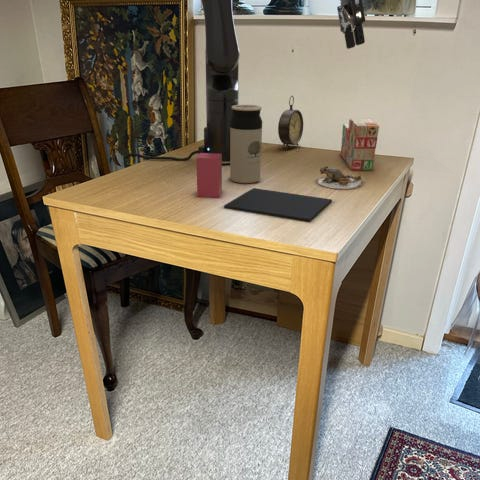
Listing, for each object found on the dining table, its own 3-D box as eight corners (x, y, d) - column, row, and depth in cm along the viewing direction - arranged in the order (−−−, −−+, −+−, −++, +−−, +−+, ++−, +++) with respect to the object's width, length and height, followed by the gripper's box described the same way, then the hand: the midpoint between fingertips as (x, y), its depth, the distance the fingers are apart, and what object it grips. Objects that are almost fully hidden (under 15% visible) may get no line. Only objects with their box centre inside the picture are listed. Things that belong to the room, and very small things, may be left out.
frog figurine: (312, 186, 127) (313, 171, 125) (322, 175, 137) (323, 161, 135) (357, 191, 124) (359, 176, 122) (364, 180, 133) (366, 165, 131)
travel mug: (225, 177, 133) (225, 105, 124) (252, 175, 136) (254, 104, 127) (237, 185, 127) (238, 109, 118) (265, 182, 130) (268, 108, 121)
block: (197, 196, 118) (196, 157, 113) (200, 190, 122) (199, 152, 118) (218, 197, 117) (218, 158, 113) (221, 191, 122) (221, 153, 117)
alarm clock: (288, 151, 164) (291, 97, 156) (274, 149, 166) (276, 96, 158) (302, 145, 172) (306, 94, 164) (289, 143, 175) (292, 93, 166)
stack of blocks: (339, 154, 161) (344, 113, 155) (359, 154, 161) (364, 113, 155) (351, 170, 143) (356, 124, 136) (372, 170, 143) (379, 125, 136)
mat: (224, 207, 110) (224, 205, 110) (253, 190, 123) (253, 187, 123) (309, 222, 103) (309, 219, 103) (331, 201, 116) (331, 199, 115)
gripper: (322, -15, 128) (335, 53, 135) (336, -29, 115) (349, 47, 122) (351, -24, 128) (361, 45, 135) (367, -39, 115) (378, 38, 122)
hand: (355, 46), depth 128 cm, fingers open, 8 cm apart
